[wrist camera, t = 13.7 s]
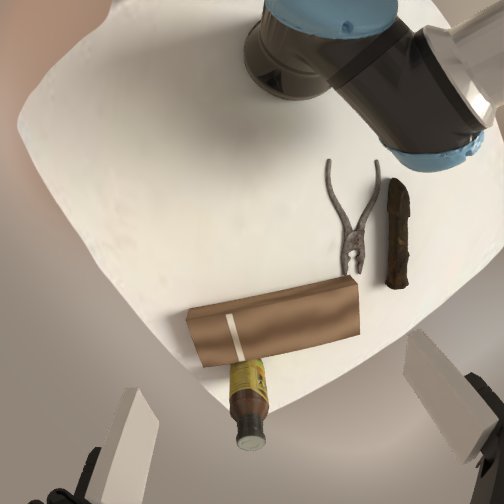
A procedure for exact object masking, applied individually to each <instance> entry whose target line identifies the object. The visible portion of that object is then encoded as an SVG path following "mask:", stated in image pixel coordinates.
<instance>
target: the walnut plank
mask: <svg viewBox="0 0 504 504" xmlns="http://www.w3.org/2000/svg"><path fill="white" fill-rule="evenodd" d="M186 322H187V325H188V328H189V331H190V334H191V336H192V339H193V342H194V345H195V347H196V350H197V352H198V355H199V358H200V360H201V363H202V365H203V368H205V367H212V366H218V365H225V364H231V363H237V362H243V361H248V360H254V359H259V358H264V357H269V356H274V355H279V354H284V353H288V352H293V351H297V350H302V349H306V348H310V347H315V346H319V345H323V344H327V343H331V342H334V341H338V340H342V339H346V338H349V337H353V336H356V335H360V315H359V293H358V284H357V283H356V281H355V280H354V279H353V278H352V277H351V276H350V275H347V276H343V277H339V278H335V279H331V280H326V281H322V282H318V283H313V284H309V285H304V286H300V287H295V288H291V289H286V290H282V291H277V292H272V293H268V294H263V295H258V296H253V297H248V298H243V299H238V300H233V301H228V302H223V303H218V304H212V305H207V306H202V307H196V308H191V309H189V312H188V315H187V318H186Z"/></svg>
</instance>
